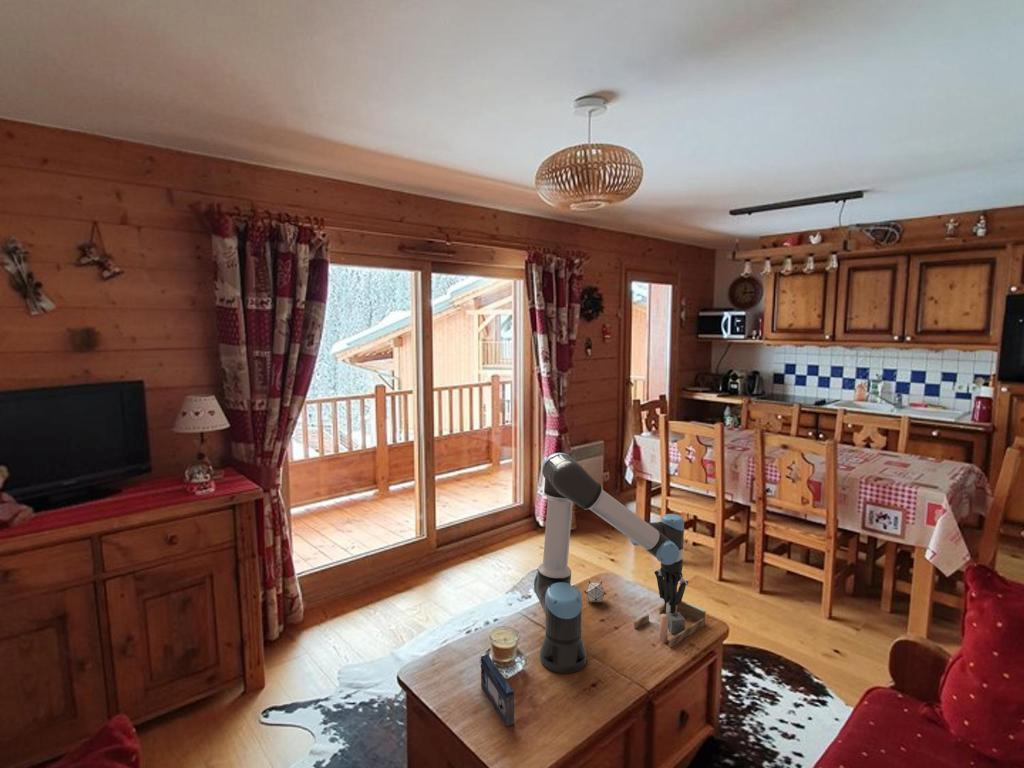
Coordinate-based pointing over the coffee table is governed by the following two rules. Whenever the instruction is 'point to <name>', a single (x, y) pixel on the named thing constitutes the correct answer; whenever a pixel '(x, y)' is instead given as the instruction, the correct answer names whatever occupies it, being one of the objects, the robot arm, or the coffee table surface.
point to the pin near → (664, 628)
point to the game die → (595, 592)
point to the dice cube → (675, 622)
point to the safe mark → (695, 607)
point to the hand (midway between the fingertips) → (669, 619)
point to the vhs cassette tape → (497, 690)
